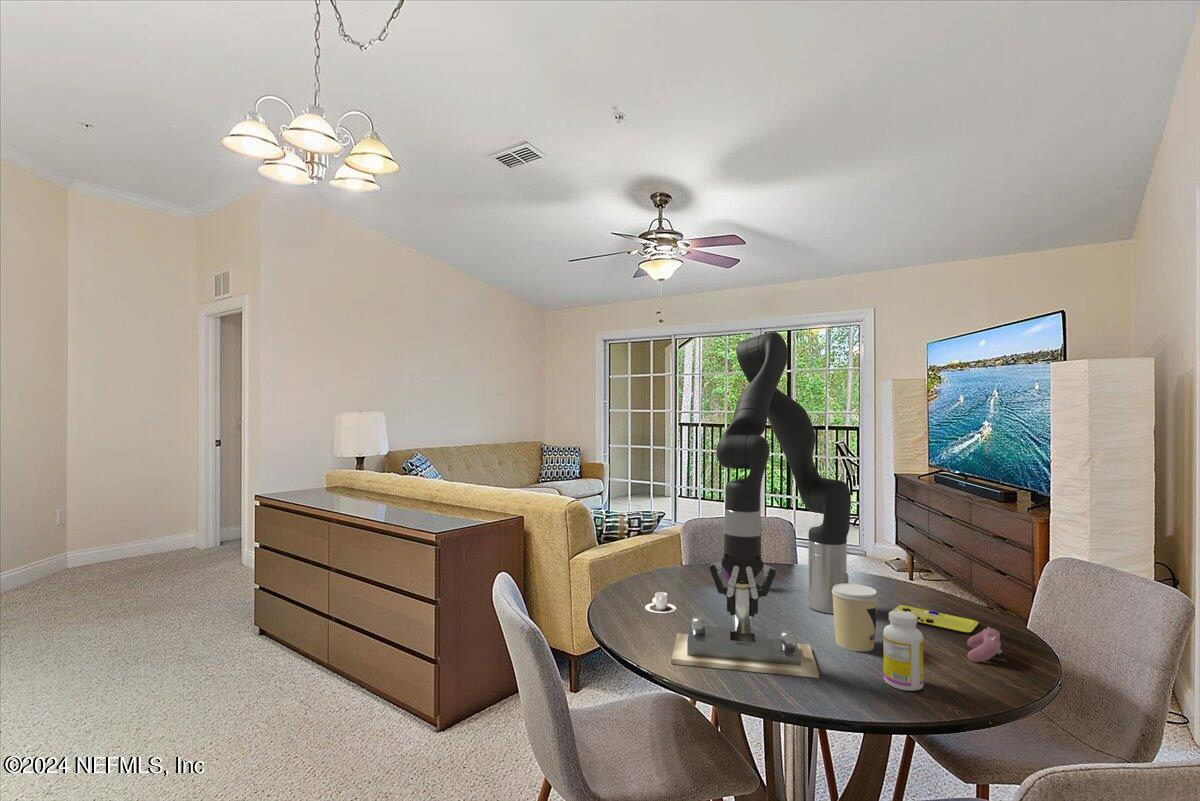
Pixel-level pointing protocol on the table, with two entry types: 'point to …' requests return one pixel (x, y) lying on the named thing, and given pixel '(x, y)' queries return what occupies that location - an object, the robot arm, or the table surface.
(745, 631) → the pin
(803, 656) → the birch board
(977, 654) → the video game controller
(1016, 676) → the table surface
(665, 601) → the teacup and saucer
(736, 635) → the knobbed grey block
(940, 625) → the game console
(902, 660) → the supplement bottle
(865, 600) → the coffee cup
